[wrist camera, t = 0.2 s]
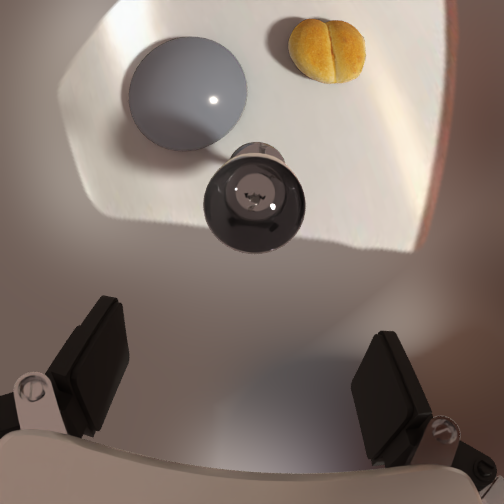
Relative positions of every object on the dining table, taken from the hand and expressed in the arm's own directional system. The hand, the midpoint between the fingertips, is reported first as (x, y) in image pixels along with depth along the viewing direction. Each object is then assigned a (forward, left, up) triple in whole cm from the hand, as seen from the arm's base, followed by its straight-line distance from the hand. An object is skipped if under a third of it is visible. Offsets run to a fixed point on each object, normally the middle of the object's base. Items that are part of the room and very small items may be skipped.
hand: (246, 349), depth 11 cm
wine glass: (-1, 0, -30) cm, 30 cm away
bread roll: (-14, +3, -30) cm, 33 cm away
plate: (-9, -10, -30) cm, 33 cm away
